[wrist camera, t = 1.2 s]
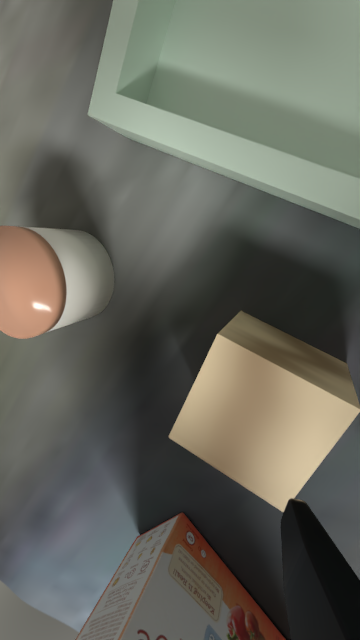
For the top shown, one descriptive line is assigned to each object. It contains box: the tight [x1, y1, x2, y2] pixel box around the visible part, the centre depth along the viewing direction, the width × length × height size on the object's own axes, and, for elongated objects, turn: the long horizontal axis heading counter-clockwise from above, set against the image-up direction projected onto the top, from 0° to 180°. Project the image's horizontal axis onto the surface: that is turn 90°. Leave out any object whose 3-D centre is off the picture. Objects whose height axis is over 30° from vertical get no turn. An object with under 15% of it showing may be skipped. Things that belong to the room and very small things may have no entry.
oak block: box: [169, 311, 360, 512], centre depth 15 cm, size 6×6×5 cm
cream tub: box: [0, 226, 114, 339], centre depth 19 cm, size 6×6×5 cm
